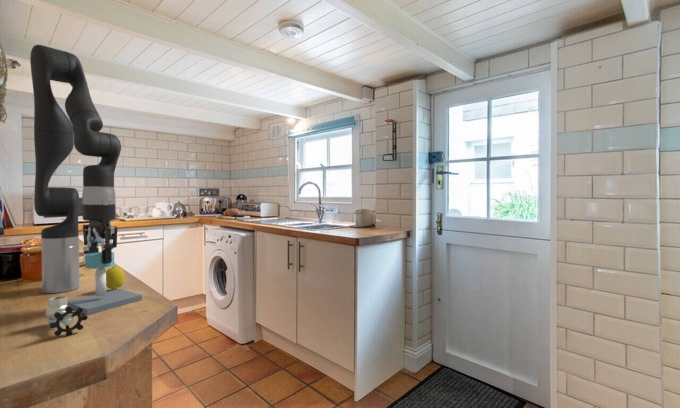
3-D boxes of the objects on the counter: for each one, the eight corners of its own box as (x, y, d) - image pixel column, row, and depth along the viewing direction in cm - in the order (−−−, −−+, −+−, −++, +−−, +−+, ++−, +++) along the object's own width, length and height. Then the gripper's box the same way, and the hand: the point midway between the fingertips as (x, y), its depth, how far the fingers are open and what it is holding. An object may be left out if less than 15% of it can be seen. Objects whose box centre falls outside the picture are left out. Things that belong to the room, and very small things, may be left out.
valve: (37, 327, 76) (50, 341, 69) (37, 299, 76) (49, 311, 69) (72, 318, 82) (88, 331, 74) (72, 292, 81) (87, 303, 74)
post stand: (65, 307, 90) (64, 269, 89) (119, 293, 102) (119, 260, 102) (87, 315, 84) (86, 274, 84) (142, 299, 96) (141, 264, 96)
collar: (81, 267, 90) (81, 254, 90) (106, 262, 96) (106, 251, 96) (93, 269, 87) (92, 256, 87) (118, 265, 93) (118, 253, 93)
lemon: (114, 293, 102) (114, 268, 102) (99, 292, 103) (99, 267, 103) (129, 288, 107) (128, 264, 107) (115, 287, 109) (114, 263, 108)
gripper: (71, 202, 91) (72, 261, 92) (97, 203, 85) (98, 267, 85) (101, 202, 98) (101, 257, 98) (127, 203, 91) (128, 262, 91)
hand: (100, 261), depth 92 cm, fingers closed on collar, 6 cm apart
